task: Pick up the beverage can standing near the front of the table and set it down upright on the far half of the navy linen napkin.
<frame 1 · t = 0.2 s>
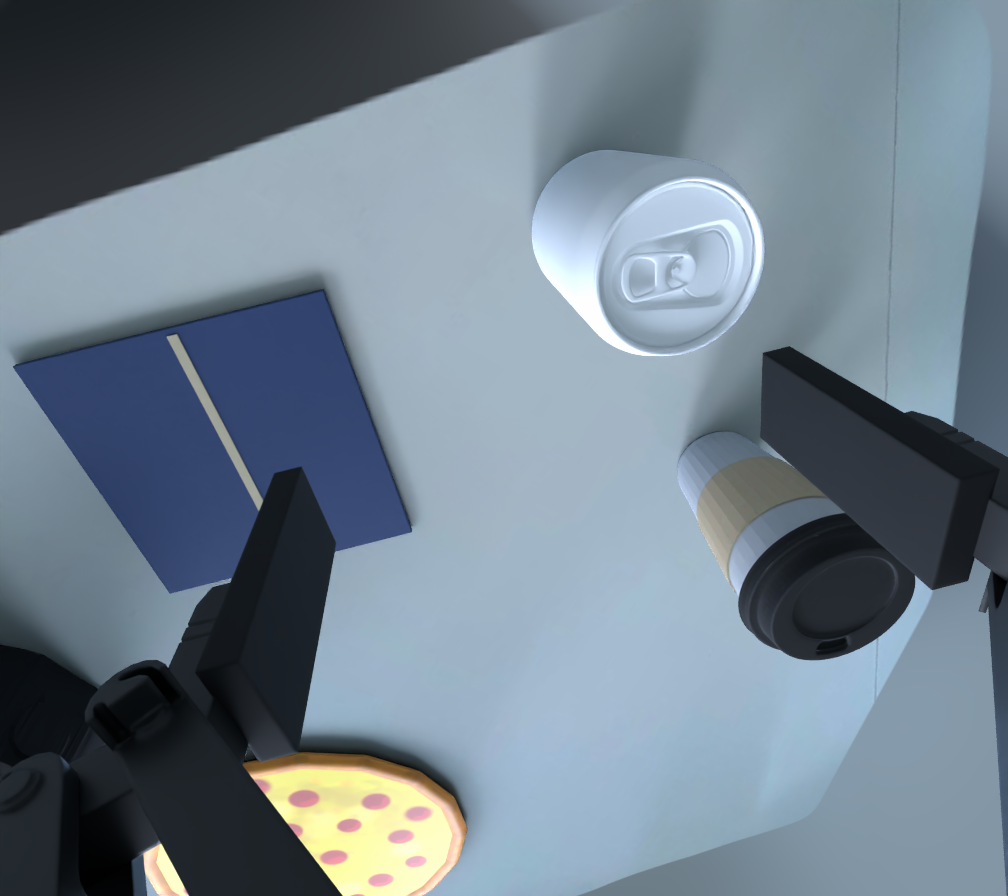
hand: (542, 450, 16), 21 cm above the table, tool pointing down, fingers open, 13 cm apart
coffee cup: (712, 462, 43), on the table
napkin: (238, 456, 38), on the table
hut: (0, 716, 46), on the table
beverage can: (596, 226, 34), on the table
pizza: (313, 844, 60), on the table
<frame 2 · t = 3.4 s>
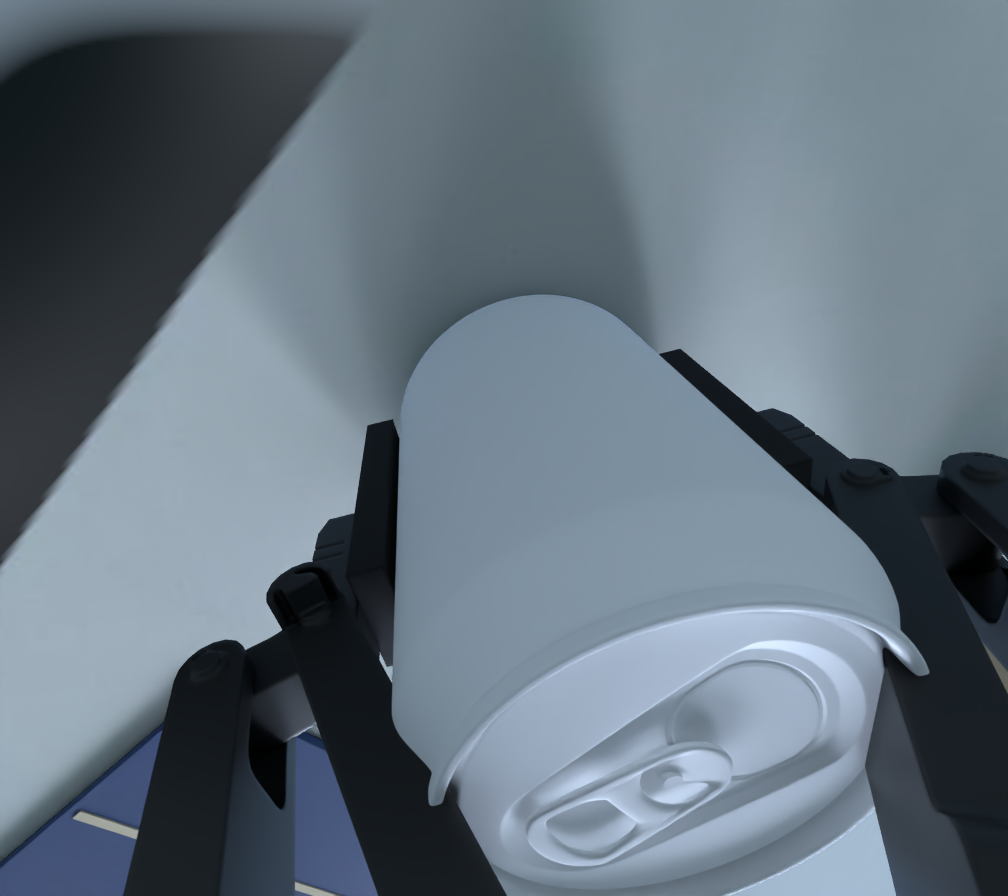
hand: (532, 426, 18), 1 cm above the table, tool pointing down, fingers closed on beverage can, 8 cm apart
napkin: (255, 861, 28), on the table
beverage can: (528, 413, 18), on the table, touching gripper
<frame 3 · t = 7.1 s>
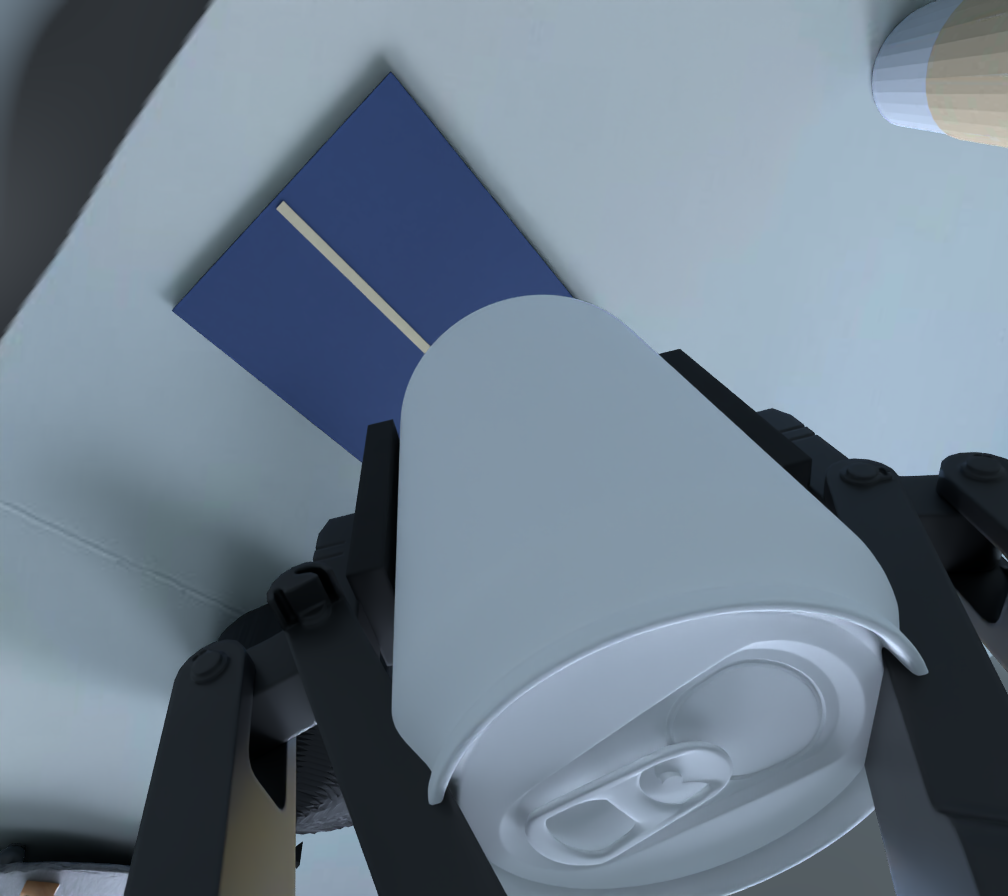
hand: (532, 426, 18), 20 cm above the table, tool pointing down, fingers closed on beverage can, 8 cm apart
coffee cup: (917, 65, 33), on the table
napkin: (395, 316, 36), on the table
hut: (318, 668, 50), on the table
beverage can: (528, 413, 18), point 19 cm above the table, touching gripper
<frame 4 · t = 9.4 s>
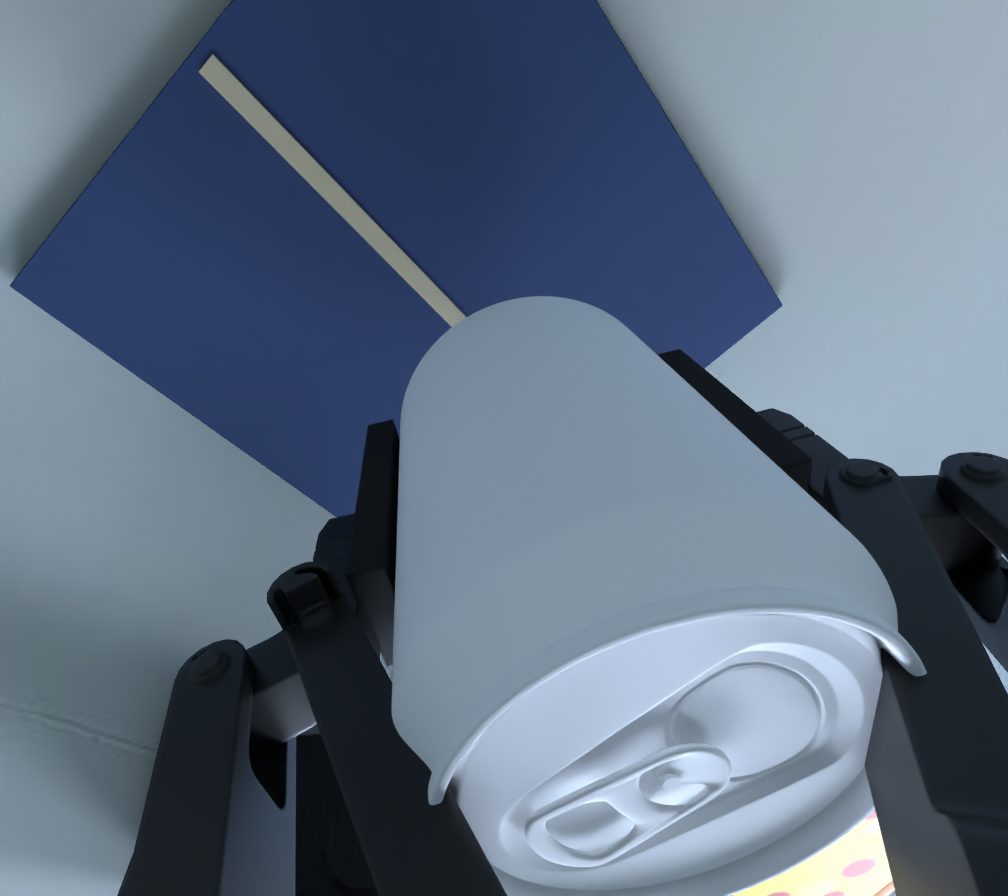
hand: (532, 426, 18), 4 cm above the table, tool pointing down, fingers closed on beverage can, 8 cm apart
napkin: (434, 293, 20), on the table
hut: (310, 824, 34), on the table
beverage can: (528, 414, 19), point 3 cm above the table, touching gripper
pizza: (750, 849, 42), on the table
when the fingers open (1 cm above the table, at t = 10.8 s): beverage can stays where it is, resting on napkin.
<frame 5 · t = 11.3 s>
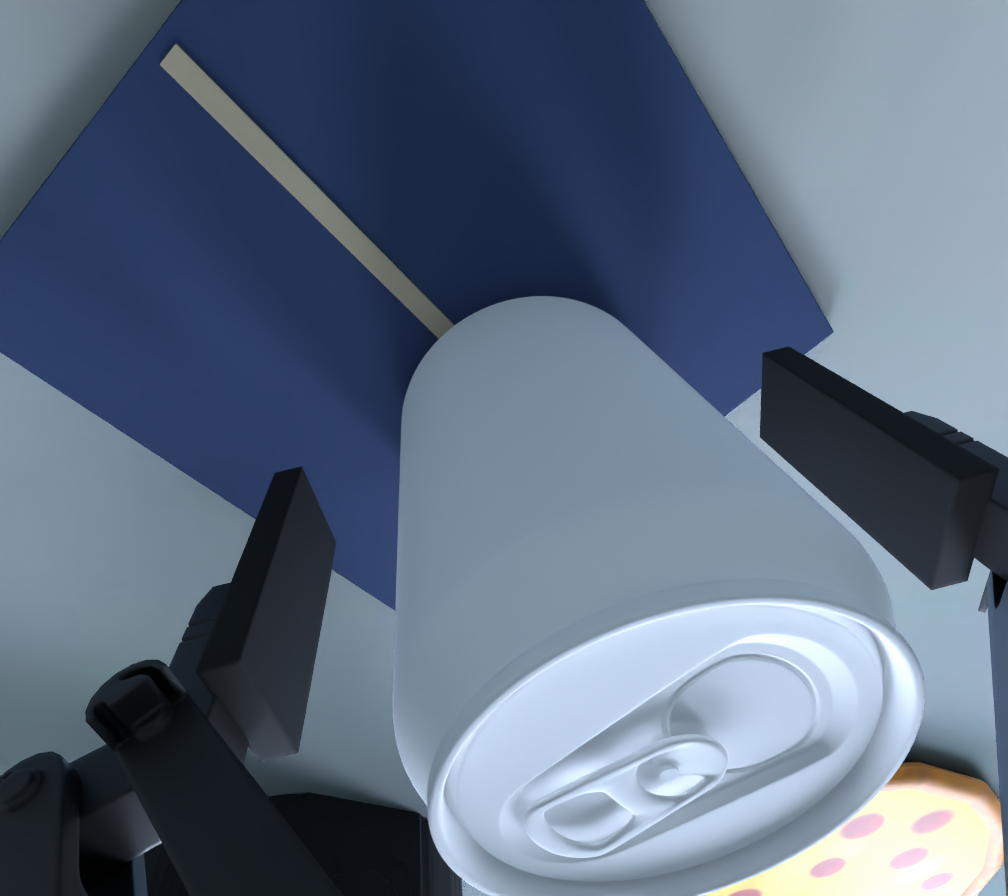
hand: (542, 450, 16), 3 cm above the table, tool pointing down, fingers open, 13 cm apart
napkin: (438, 320, 17), on the table
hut: (303, 883, 31), on the table
beverage can: (528, 413, 19), resting on napkin
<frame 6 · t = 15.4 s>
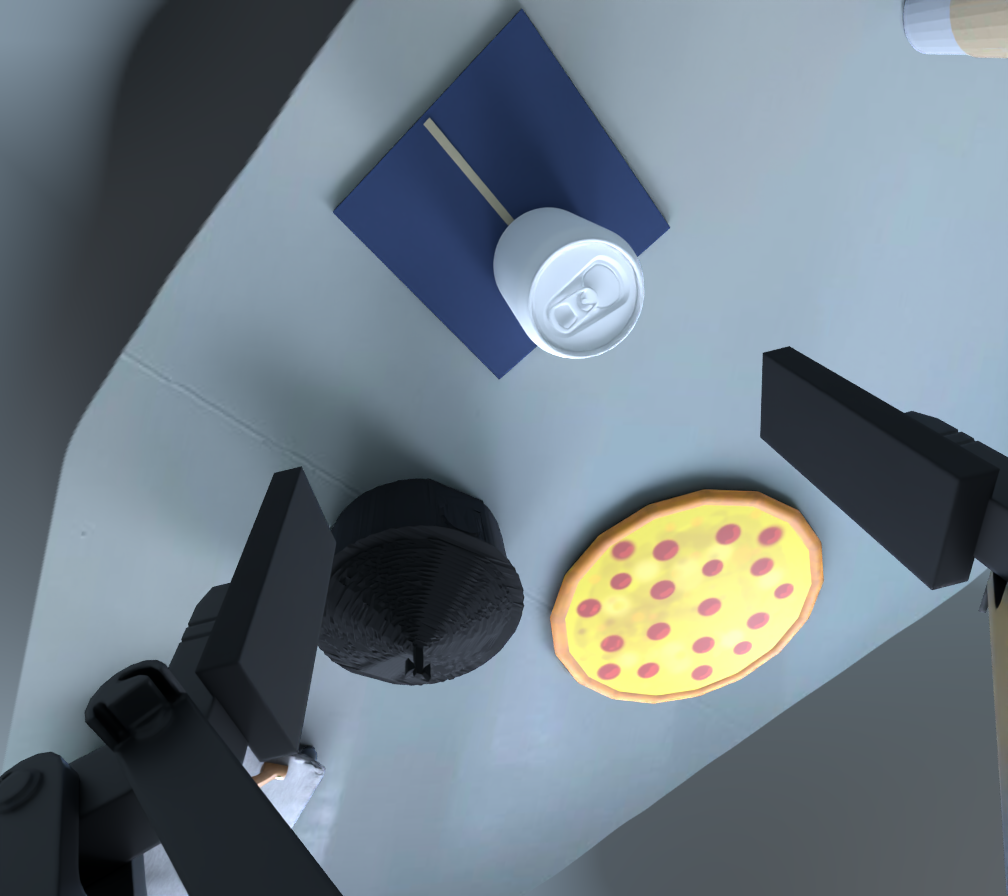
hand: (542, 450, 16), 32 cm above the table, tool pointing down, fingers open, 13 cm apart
serving tray: (194, 809, 72), on the table
coffee cup: (940, 2, 40), on the table
napkin: (508, 219, 43), on the table
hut: (417, 549, 57), on the table
beverage can: (543, 262, 45), resting on napkin
pizza: (686, 603, 66), on the table
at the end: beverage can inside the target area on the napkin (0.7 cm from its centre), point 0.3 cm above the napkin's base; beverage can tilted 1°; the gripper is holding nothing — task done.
